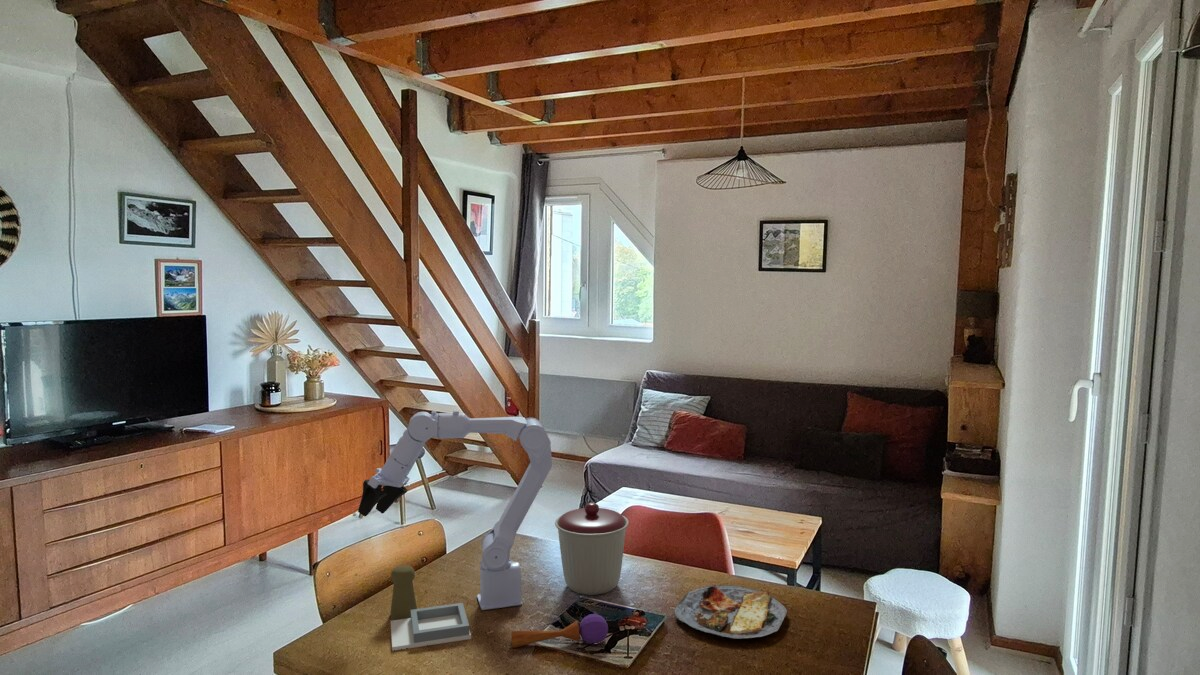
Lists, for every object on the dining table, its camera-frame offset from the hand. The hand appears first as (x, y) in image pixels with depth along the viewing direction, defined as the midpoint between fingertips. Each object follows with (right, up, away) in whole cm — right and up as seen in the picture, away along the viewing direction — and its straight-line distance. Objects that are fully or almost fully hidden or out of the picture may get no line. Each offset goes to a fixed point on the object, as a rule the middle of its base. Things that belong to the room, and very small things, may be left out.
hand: (370, 512), depth 162 cm
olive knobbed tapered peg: (+7, -23, 0) cm, 25 cm away
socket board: (+15, -24, -8) cm, 29 cm away
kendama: (+44, -25, -13) cm, 52 cm away
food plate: (+81, -24, -1) cm, 85 cm away
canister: (+50, -22, +15) cm, 57 cm away
